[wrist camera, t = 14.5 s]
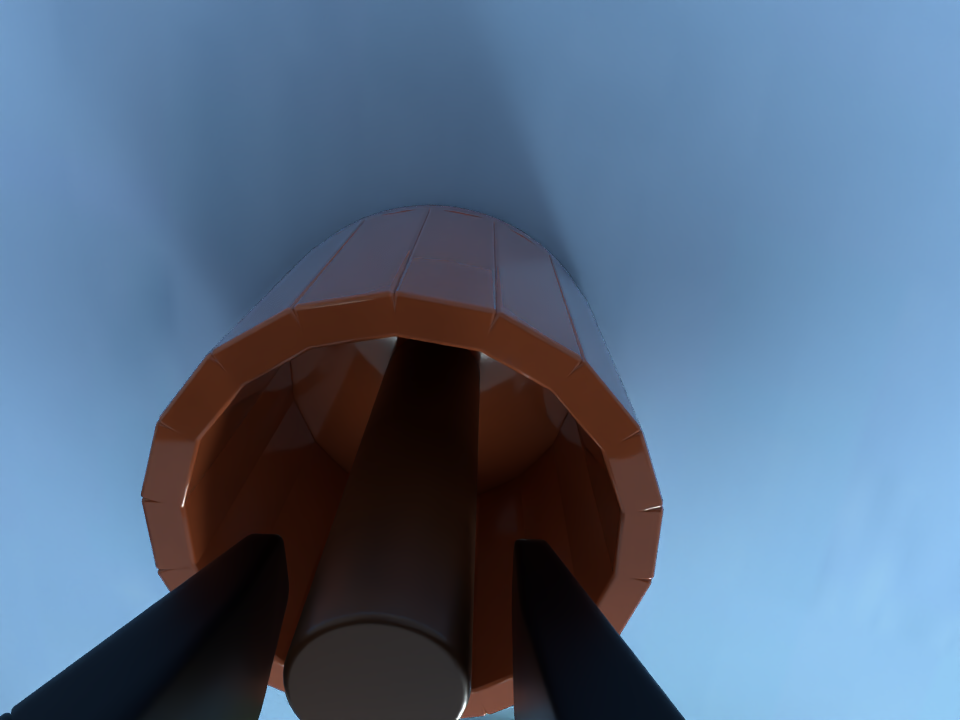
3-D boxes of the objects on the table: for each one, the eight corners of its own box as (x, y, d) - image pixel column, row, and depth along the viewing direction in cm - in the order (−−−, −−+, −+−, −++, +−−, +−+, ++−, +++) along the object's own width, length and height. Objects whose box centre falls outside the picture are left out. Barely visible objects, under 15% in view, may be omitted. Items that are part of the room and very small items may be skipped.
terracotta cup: (288, 502, 16) (187, 720, 11) (253, 198, 14) (91, 286, 8) (584, 508, 16) (633, 730, 11) (611, 204, 14) (696, 296, 8)
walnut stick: (388, 416, 15) (289, 754, 8) (384, 331, 14) (270, 616, 7) (480, 418, 15) (470, 759, 7) (480, 333, 14) (471, 619, 7)
